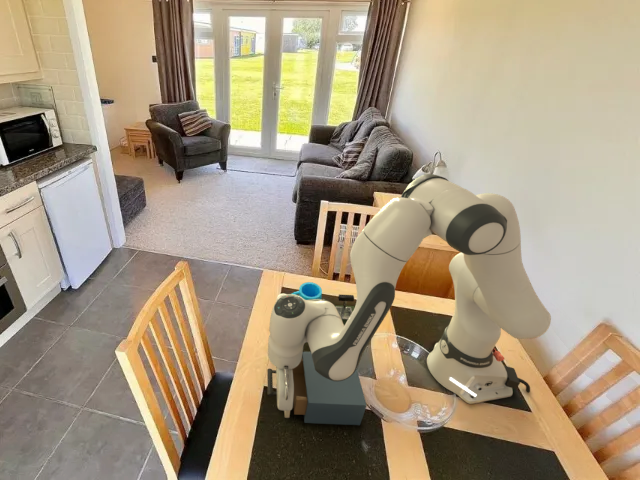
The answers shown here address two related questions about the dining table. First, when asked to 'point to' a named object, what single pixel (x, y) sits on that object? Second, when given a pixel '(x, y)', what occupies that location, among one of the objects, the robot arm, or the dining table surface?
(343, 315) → the metal tray
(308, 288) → the mug
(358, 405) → the cabinet
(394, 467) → the dining table surface
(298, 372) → the drawer
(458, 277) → the robot arm
